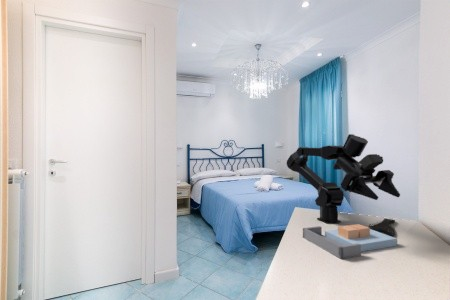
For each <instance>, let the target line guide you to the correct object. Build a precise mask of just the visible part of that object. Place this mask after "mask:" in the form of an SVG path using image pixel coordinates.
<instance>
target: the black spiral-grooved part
mask: <svg viewBox="0 0 450 300" xmlns="http://www.w3.org/2000/svg"><path fill="white" fill-rule="evenodd" d="M395 222H396V221H395V219H391V218H386V217H385V218H383V220H382V221H379V222H378V221H376V222H375V223H373V224H372V223H371V224H368V226H367V227H368V228H370V229H372V230H374V231H377V232H380V233H383V234H386V235H388V236H392V237H393V236H395V235H396V230H395V227H394V226H393V224H391V223H395Z"/></svg>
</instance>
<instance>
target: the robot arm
mask: <svg viewBox="0 0 450 300" xmlns="http://www.w3.org/2000/svg"><path fill="white" fill-rule="evenodd" d="M368 142H369V141H368V139H366V138H364V137H361V136H357V135H355V134H353V133H352V134H351V133H350V134H348V135H347V137H346V141H345V142H344V144H343V146H342V145H326V146H325V145H324V146H321V147H309V146H299V147H298V148H297V149H296V150H295V151H294V152H293V153H291V154H290V156H289V157H288V159H287V160H286V166H287V167H286V168H288V169H289V170H291V171H292V172H296V173H299V174H300V176H301V177H302V178H303V179H305V180H306V182H308V183H309V184H310V185H311V186H312V187H313V188H314V189H315V190H316V191H317V195H318V196H317V197H316V198H315V200H314V201H315V206H318V207H319V217H317V218H316V220H318V221H321V222H323V223H325V224H334V223H336V224H337V223H341V221H342V220H340V219H339V211H338V207H341V206H342V203H343V201H344V198H345V195H344V192H349V193H354V194H356V195H361V196H363V197H366V198H369V199H372V200H375V201H377V200H378V199H379V196H378V195H377V194H376V193H375V192H374V191H373V189H371V188H370V186H368V185H367V184H373V186H375V187H377V189H378V190H380V191H382V192H384V193H387V194H389V195H392V196H393V197H396V198H399V197H401V193H400V192H399V190H398V189H397V188H396V186H395V184H394V182H393V180H392V179H393V178H394V176H395V173H394V172H393V171H392V170H390V169H385V170H378V171H377V173H376V175H374V173H375V172H376V169H375V168H377V167H378V166H380V165H382V164H383V162H384V158H383V156H381V155H380V154H377V153H375V154H374V153H372V154H366V155H365V156H363V158H361V160H359V161H358V160H356V158H357V157H361V155H362V153H363V152H364V150H365V148H366V147H367V145H368ZM309 157H320V158H321V159H324V160H327V161H335V162H334V163H333V170H335V171H336V170H342V171H343V172H344V173H345V175H344V176H343V178H342V180H341V182H340V186H338V184H336V182H333V181H332V182H326V181H325V180H324V179H322V177H320V176H319V175H318V174H317V173H316V172H315V171H313V170H312V169H311V168H310V167H308V163H307V162H308V160H309Z"/></svg>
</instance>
